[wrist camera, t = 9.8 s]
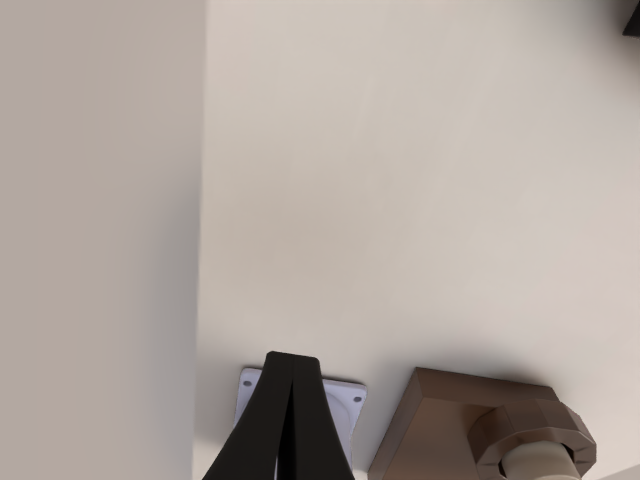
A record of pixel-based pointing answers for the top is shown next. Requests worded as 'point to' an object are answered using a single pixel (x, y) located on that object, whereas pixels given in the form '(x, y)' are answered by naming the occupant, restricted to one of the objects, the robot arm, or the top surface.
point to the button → (539, 462)
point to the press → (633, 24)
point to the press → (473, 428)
